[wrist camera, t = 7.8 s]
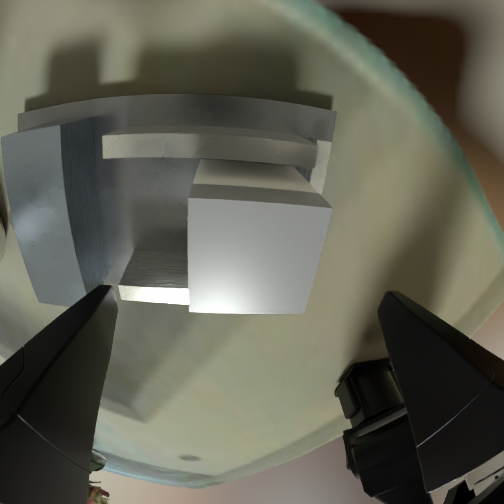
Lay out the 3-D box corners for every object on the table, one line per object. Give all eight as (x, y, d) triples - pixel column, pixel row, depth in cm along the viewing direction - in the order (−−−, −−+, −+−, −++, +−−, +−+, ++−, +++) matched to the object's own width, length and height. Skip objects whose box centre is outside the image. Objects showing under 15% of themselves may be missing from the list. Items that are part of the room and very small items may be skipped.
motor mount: (331, 110, 14) (370, 118, 10) (295, 283, 20) (312, 329, 16) (24, 112, 11) (-22, 125, 7) (49, 271, 17) (22, 310, 13)
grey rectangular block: (293, 166, 15) (332, 208, 10) (279, 245, 17) (304, 313, 12) (200, 159, 14) (188, 197, 9) (197, 242, 16) (189, 311, 11)
